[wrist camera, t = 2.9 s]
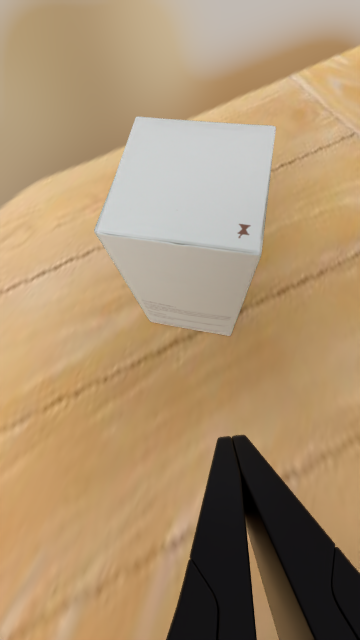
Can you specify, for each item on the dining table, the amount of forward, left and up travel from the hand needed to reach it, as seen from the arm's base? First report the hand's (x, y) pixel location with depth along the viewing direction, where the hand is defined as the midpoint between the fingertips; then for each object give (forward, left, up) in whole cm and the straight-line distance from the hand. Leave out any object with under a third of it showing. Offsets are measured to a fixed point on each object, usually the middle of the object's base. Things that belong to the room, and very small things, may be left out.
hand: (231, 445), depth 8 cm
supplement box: (+8, -8, -13) cm, 17 cm away
